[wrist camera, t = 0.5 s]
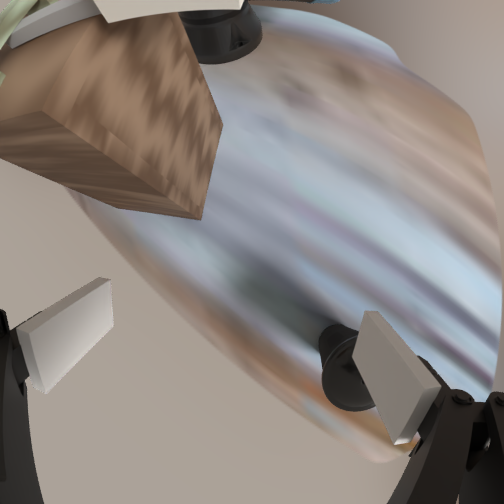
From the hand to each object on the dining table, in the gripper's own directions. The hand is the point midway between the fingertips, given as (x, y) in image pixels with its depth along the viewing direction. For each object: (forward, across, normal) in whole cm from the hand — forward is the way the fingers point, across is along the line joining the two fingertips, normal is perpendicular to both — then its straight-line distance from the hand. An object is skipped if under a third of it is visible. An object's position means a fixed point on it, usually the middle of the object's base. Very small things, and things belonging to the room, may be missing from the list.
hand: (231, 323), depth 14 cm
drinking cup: (+21, +13, -12) cm, 27 cm away
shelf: (+29, -14, +9) cm, 33 cm away
